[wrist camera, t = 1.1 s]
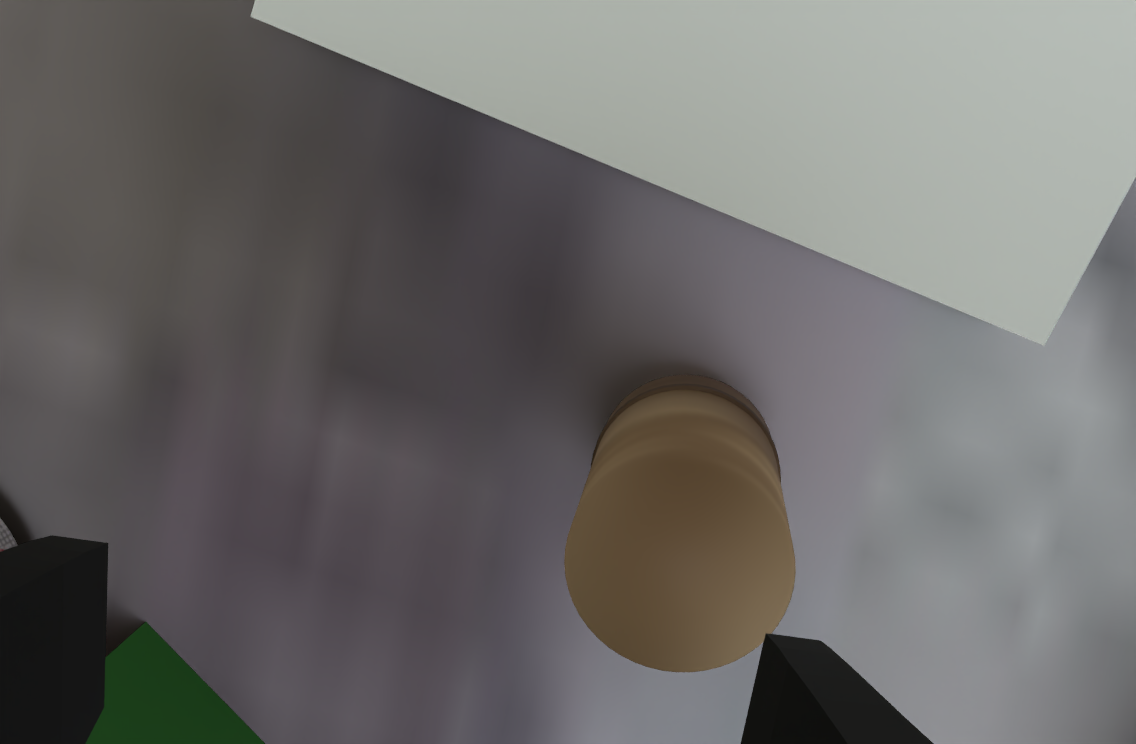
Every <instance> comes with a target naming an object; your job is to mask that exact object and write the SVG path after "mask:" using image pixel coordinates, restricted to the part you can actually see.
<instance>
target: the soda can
mask: <svg viewBox="0 0 1136 744" xmlns="http://www.w3.org/2000/svg"><path fill="white" fill-rule="evenodd" d="M15 546H17V543H16V541H15V539H14V537H13V536H12V534H11V532H10V530H9V529H8V528H7V526H6V525H5V523H4V522H3V521H2V519H1V518H0V552H1V551H3V550H6V549H9V548H12V547H15Z"/></svg>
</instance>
